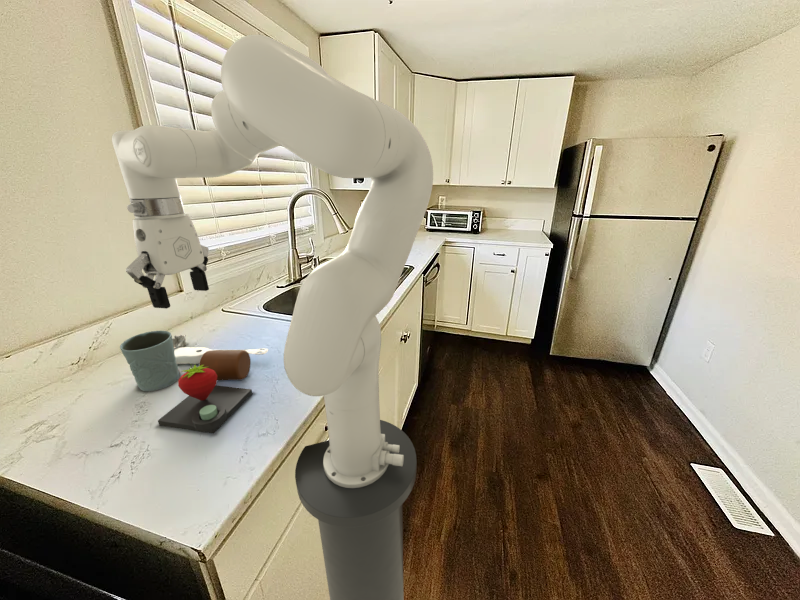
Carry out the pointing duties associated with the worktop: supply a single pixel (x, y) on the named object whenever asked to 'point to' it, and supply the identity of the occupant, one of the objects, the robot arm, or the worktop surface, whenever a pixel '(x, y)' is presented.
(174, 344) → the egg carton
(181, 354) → the spatula
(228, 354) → the mug
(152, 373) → the green plant pot
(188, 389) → the strawberry
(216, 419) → the scale
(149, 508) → the worktop surface
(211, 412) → the button
